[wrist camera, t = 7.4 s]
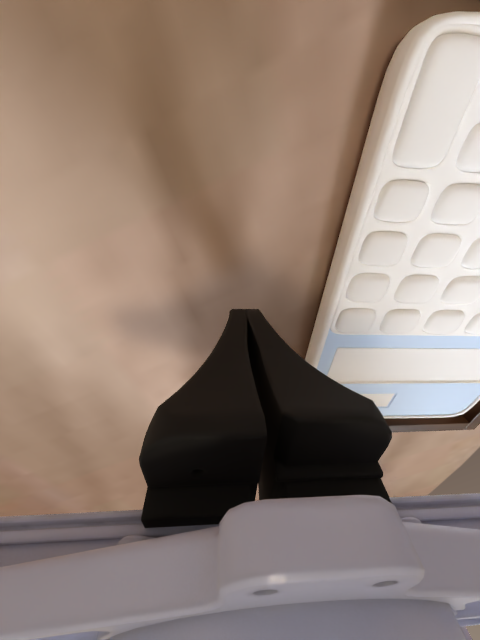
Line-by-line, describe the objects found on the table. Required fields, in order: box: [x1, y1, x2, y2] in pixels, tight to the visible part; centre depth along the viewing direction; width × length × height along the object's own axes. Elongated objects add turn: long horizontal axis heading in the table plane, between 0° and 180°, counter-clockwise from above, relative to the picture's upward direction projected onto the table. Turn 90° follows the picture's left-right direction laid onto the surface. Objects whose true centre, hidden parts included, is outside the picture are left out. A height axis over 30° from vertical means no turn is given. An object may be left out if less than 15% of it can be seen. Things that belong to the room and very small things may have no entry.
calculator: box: [305, 11, 480, 419], centre depth 14 cm, size 13×20×2 cm, turn 177°
